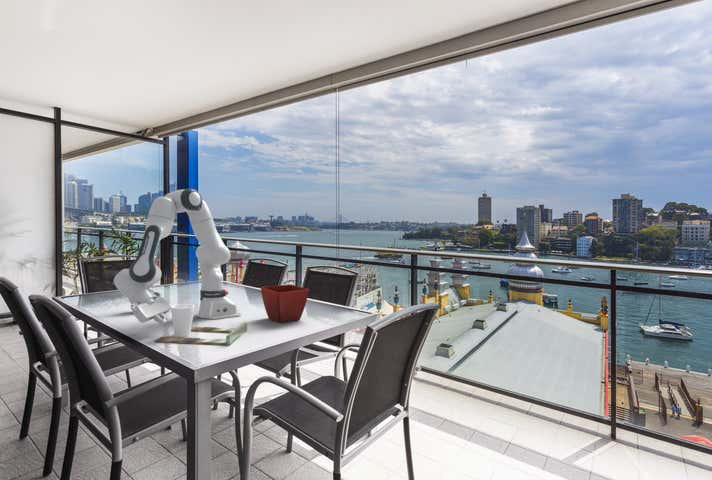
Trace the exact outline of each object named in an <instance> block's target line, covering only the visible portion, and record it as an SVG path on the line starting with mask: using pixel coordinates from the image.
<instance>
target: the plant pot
mask: <svg viewBox="0 0 712 480" xmlns="http://www.w3.org/2000/svg"><path fill="white" fill-rule="evenodd" d="M260 293H261V297H262V302H263V305H264V309H265V310H264V311H265V312H266V315H267V317H268V319H269V320H271V321H273V322H276V323H279V324H282V323H283V324H284V323H288V322H295V321H299V320H301V318H302V316H303V314H304V311H305V307H306V304H307V299H308V296H309V288H305V287H301V286H299V285H294V284H282V285H272V286H271V285H270V286H260Z"/></svg>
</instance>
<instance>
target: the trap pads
mask: <svg viewBox="0 0 712 480" xmlns="http://www.w3.org/2000/svg"><path fill="white" fill-rule="evenodd" d="M202 327H203V328H202V329H200V330H214V329H216V328H218V327H216V326H215V327H214V326H213V327H212V326H202ZM184 338H185V339H183V340H182V341H186V342H196V341H197V340H199V339H201V337H184Z"/></svg>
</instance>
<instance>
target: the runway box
mask: <svg viewBox="0 0 712 480" xmlns="http://www.w3.org/2000/svg"><path fill="white" fill-rule="evenodd" d="M203 327H204V326H202V327H201V326H191V332H198V333H199V332H200V333H205V332H206V333H222V334H223V333H224V334H227V335H226V338H225V339H224V338H223V339H222V338H200V339H199V340H197V341H196V342H186V341H182V340H183V339H185V338H186V337H167V336H161V337H158V338H156V339H155V340H154V342H155V343H169V344H171V343H172V344H189V345H191V344H192V345H214V346H231V345H232V344H233V343H235V342H236V341H237V340H238V339H239V338H241V337H242V336H243V335H244V334H245V333H246V332H248V322H246V321H244V322H243V323H242V324H240V325H238V326H237V327H234V328H233V327H217V328H216V329H214V330H200V329H202V328H203Z"/></svg>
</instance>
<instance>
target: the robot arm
mask: <svg viewBox="0 0 712 480" xmlns="http://www.w3.org/2000/svg"><path fill="white" fill-rule="evenodd" d="M185 212H186V214H187V216H188V219H189V222H190V224H191V228H192V231H193V234H194V236H195V238H196V239H197V240H198V242H199V243H200V245H199V246H198V247H197V248H196V250H195V256H196V259H197V260H198V265H199V270H200V276H201V277H200V279H201V281H200V286H201V287H200V290H199V300H200V301H199V308H198V311H197V318H201V319H207V320H209V319H210V320H220V319H227V318H235V317H241V316H242V312H241V310H238V306H237V303H236V302H235V301H234V300H233V299H231V298H230V297H229V296H228V295H229V291H228V290H226V289H224V274H223V272H222V270H221V265H224V264H227V263H228V262H229V261H230V259H231V255H232V254H231V251H230V249H229V248H228V246H226V245H225V243H224V241H223V239H222V237H221V236H220V234H219V233H218V231H217V228H216V225H215V222H214V219H213V215H212V213H211V210H210V208H209V206H208V205H207V202H206V201H205V200H204V199H202V196H201V194H200V192H199V191H198V190H196V189H193V188H186V189H178V190H174V191H171V192H167V193H164V195H162V196H158V197H156V198H155V199H154V200H153V201H152V204H151V206H150V209H149V212H148V215H147V220H146V223H145V231H144V235H143V237H142V241H141V243H140V247H139V250H138V253H137V256H136V258H135V259H134V261H133V262H132V263H130V264H131V265H130V267H129V268H124V269H121V270H120V271H119V272H117V273H116V274H115V276H114V279H113V284H114V285H115V287H116V289H117V290H118V291H119V293H121V294H122V296H124V297H125V298H126V299H128V302H129V303H130V309H131V310H132V311H131V312H132V313H133V315H134V317H135V319H136V320H138V322H139V323H142V324H143V323H146V322H149V321H150V320H154V321H155V322H157V323H159V324H160V326H163V325H165V324H166V323H168V320H167V319H166V316H165V315H166V314H167V313H168V312H170V311H171V305H170V304H169V303H168V302H167V300H166V299H165V298H164V297H162V294H161V293H160V292H157V291H154V292H152V291H149V290H148V289H149V287H151V286H154V284H156V283H158V282H159V281H160V280H161V278H162V274H163V273H162V270H161V268H160V267H159V266H158V265H156V264H155V256H156V253H157V250H158V246H159V244H160V241H161V240H162V239H165V238H166V237H168V236H169V235H170V234H171V232H172V230H173V226H174V224H175V223H174V222H175V218H176V217H175V216H176V214H178V213H179V214H180V213H185Z"/></svg>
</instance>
